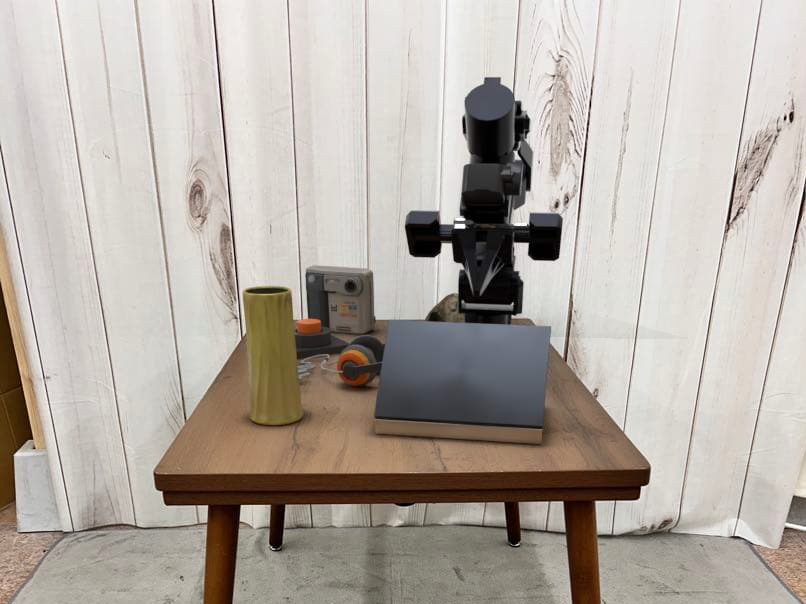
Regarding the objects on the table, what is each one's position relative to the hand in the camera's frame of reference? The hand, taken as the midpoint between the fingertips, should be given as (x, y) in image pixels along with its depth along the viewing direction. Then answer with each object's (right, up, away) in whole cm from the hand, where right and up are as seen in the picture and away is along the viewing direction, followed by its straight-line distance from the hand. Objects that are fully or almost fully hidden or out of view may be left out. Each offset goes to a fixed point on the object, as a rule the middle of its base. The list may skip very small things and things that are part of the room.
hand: (476, 294), depth 92 cm
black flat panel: (-2, -11, -7) cm, 14 cm away
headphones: (-16, -8, +12) cm, 21 cm away
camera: (-19, +6, +38) cm, 43 cm away
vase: (-23, -15, -2) cm, 28 cm away
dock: (-23, -1, +26) cm, 34 cm away
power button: (-23, +2, +24) cm, 34 cm away
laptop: (-2, -16, -3) cm, 16 cm away
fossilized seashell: (-1, +6, +38) cm, 38 cm away
